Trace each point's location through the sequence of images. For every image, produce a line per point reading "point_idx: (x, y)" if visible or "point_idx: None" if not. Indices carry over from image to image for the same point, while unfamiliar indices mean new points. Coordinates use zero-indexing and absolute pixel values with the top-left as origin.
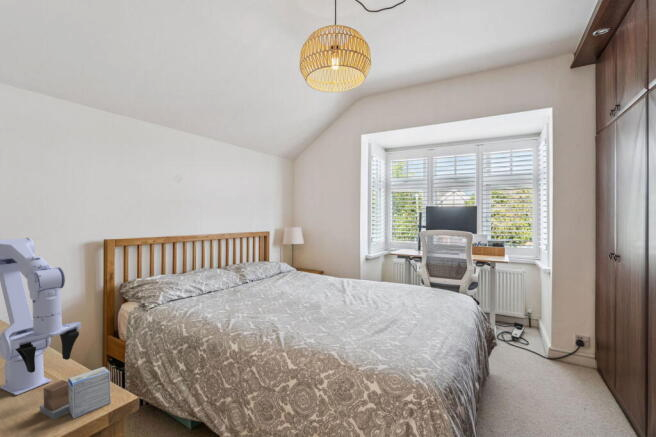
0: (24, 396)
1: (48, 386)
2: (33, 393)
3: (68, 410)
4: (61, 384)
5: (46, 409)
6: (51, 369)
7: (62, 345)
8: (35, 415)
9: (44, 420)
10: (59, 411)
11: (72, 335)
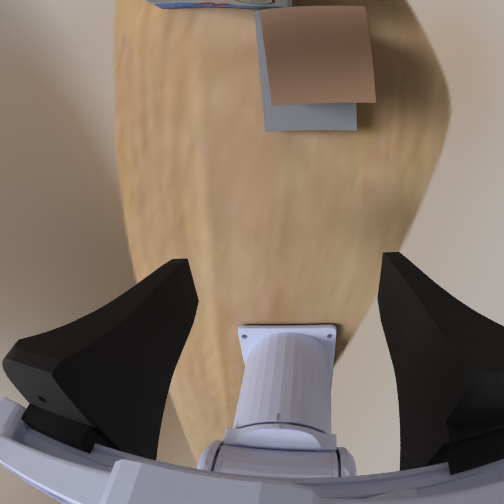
0: (325, 300)
1: (354, 88)
2: (302, 296)
3: None
4: (301, 39)
5: None
6: (213, 386)
7: (168, 375)
8: (371, 114)
9: None
10: None
11: (42, 359)
